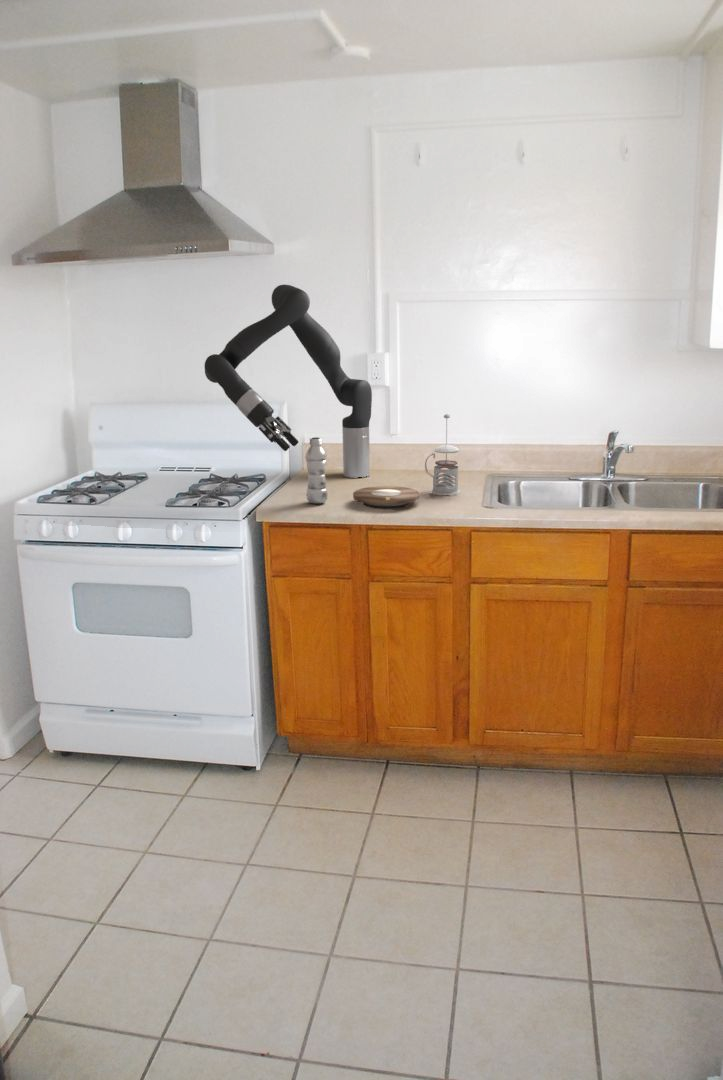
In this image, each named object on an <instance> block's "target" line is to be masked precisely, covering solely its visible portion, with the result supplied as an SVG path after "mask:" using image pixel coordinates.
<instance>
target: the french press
mask: <svg viewBox="0 0 723 1080" xmlns="http://www.w3.org/2000/svg"><path fill="white" fill-rule="evenodd" d="M450 417H451V416H450V414H448V413H445V414H444V415H443V418H444V419H446V422H445V423H446V424H445V426H446V430H445V432H446V433H445V434H446V435H445V436H446V437H445V444H442V445H441V444H440V445H439V446H437V447H435V448H434V449H433V451H434V452H435V453H434V452H432V453H431V454H429V455H428V456H427V457H426V459H425V461H424V469H425V472H426V474H427V475H429V476H430V477H431V478H433V480H432V481H433V482H432V483H433V485H432V486H433V487H432V490H430V493H431V492H432V493H433V494H432V493H431V494H432V495H435V494H438V495H437V496H442V495H451V496H456V495H455V494H458V495H460V494H461V493H460V491H461V490H460V489H459V466H457V465H458V462H457V461H456V460H451V459H450V460H449V459H447V454H456V453H459V451H460V449H459V448H458V447H456V446H454V445H451V444H448V419H450ZM436 453H437V454H445V459H441V460H436V461H435V462H434V463H435V466H434V467H433V474H432V473H431V472H430V471H429V470H428V467H427V462H428V459H429V458H430V457H431V456H433V459H435V458H436ZM459 493H460V494H459Z"/></svg>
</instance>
